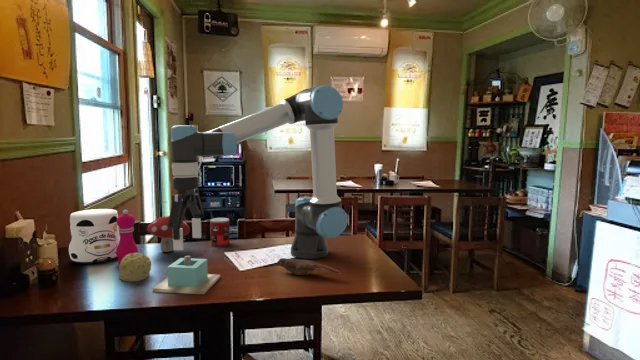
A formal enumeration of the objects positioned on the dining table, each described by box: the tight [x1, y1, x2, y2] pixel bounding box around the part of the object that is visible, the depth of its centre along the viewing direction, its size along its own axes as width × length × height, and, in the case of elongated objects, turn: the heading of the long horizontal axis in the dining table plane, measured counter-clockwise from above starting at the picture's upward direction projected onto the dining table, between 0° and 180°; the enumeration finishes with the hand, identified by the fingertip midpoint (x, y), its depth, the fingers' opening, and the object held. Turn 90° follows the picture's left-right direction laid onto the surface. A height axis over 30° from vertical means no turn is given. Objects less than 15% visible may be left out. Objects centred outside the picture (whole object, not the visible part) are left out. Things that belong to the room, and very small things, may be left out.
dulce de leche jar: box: [68, 208, 120, 265], centre depth 147 cm, size 17×17×18 cm
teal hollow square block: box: [166, 257, 209, 287], centre depth 124 cm, size 9×9×6 cm
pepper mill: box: [116, 209, 139, 266], centre depth 142 cm, size 7×7×20 cm
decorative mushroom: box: [146, 215, 191, 253], centre depth 158 cm, size 16×16×15 cm
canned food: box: [209, 217, 231, 247], centre depth 170 cm, size 8×8×11 cm
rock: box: [118, 252, 152, 282], centre depth 130 cm, size 10×11×10 cm
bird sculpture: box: [272, 257, 342, 276], centre depth 134 cm, size 7×25×5 cm, turn 71°
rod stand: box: [152, 255, 221, 295], centre depth 124 cm, size 16×14×9 cm
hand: (188, 243), depth 123 cm, fingers open, 13 cm apart
